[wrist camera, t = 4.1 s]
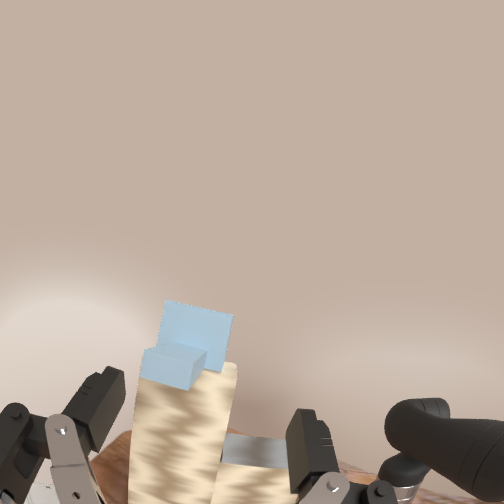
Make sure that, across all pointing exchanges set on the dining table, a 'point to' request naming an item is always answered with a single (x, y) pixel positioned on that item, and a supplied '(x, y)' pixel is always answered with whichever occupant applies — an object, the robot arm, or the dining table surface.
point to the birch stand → (201, 448)
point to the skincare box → (42, 494)
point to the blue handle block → (187, 345)
